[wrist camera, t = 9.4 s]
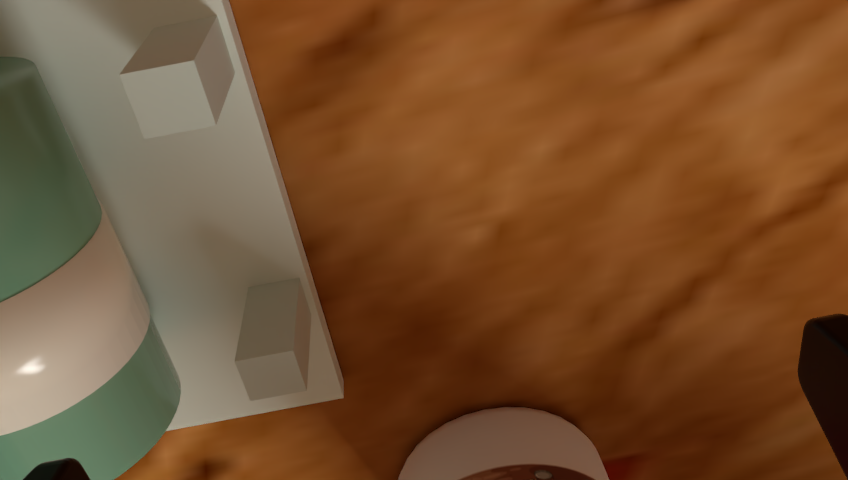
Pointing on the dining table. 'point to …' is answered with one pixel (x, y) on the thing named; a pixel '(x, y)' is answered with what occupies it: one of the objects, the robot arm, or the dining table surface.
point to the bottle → (68, 306)
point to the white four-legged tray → (188, 193)
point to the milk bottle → (505, 449)
